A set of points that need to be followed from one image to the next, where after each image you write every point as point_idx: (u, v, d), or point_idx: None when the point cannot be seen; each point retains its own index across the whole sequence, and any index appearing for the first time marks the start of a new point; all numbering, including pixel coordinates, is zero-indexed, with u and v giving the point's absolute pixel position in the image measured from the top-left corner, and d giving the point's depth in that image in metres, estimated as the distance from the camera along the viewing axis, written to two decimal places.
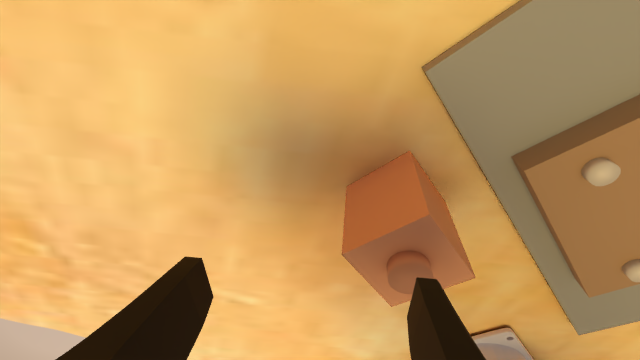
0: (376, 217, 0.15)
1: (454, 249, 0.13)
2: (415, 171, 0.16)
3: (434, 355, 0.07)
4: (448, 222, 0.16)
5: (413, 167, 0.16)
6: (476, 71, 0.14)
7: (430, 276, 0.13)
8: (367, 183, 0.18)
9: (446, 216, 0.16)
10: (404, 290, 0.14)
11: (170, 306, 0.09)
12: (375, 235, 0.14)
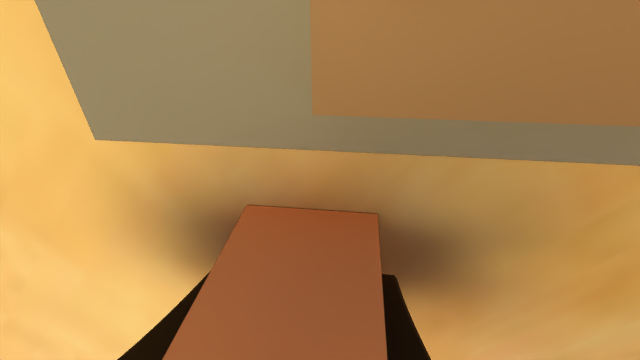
0: None
1: None
2: (220, 256, 0.09)
3: None
4: (327, 294, 0.07)
5: (225, 246, 0.09)
6: (114, 73, 0.07)
7: None
8: None
9: (331, 276, 0.08)
10: None
11: None
12: None
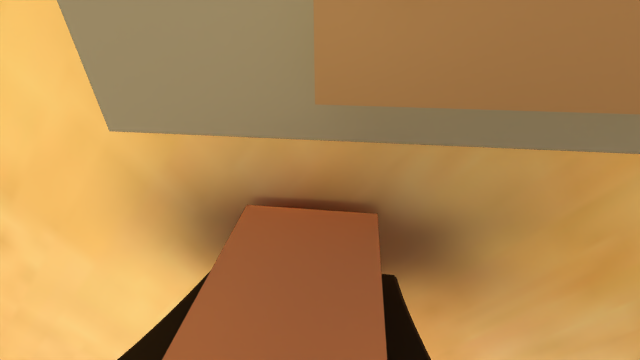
0: None
1: None
2: (220, 256, 0.09)
3: None
4: (327, 294, 0.07)
5: (225, 246, 0.09)
6: (129, 67, 0.08)
7: None
8: None
9: (331, 276, 0.08)
10: None
11: None
12: None
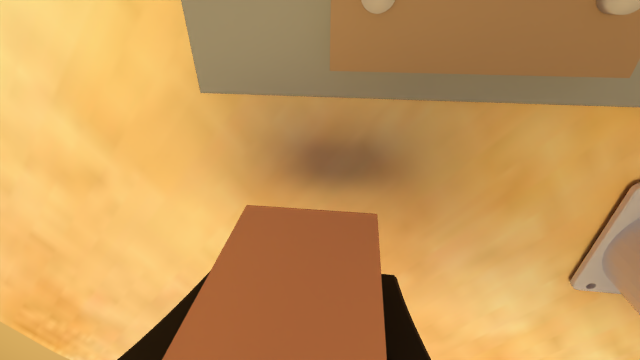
0: None
1: None
2: (220, 256, 0.09)
3: None
4: (326, 294, 0.07)
5: (225, 246, 0.09)
6: (219, 52, 0.14)
7: None
8: None
9: (331, 276, 0.08)
10: None
11: None
12: None
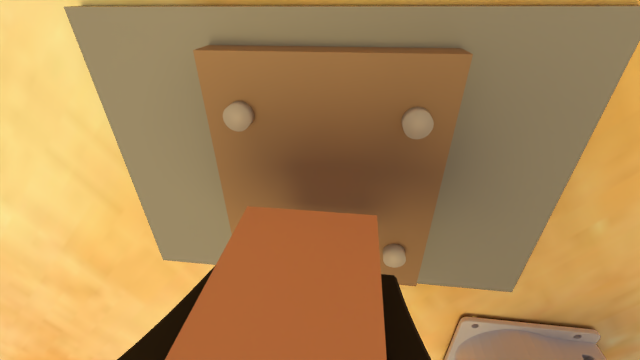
0: None
1: None
2: (221, 257, 0.09)
3: None
4: (327, 295, 0.07)
5: (226, 247, 0.09)
6: (173, 242, 0.21)
7: None
8: None
9: (331, 277, 0.08)
10: None
11: None
12: None
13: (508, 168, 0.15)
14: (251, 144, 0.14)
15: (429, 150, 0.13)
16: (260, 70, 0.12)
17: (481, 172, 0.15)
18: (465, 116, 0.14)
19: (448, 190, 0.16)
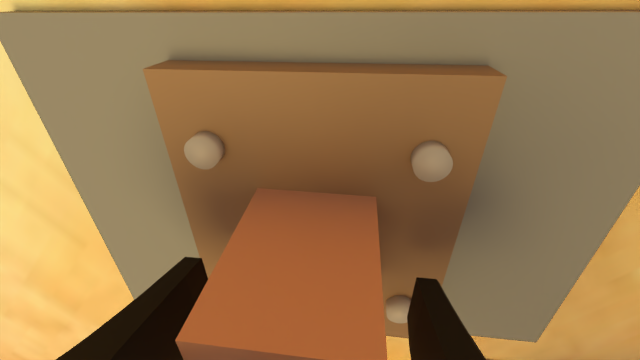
0: None
1: (284, 353, 0.06)
2: (236, 230, 0.10)
3: (434, 355, 0.07)
4: (332, 261, 0.08)
5: (240, 222, 0.10)
6: (144, 282, 0.18)
7: None
8: None
9: (335, 247, 0.09)
10: None
11: (170, 306, 0.09)
12: None
13: (540, 208, 0.12)
14: (223, 182, 0.12)
15: (445, 192, 0.11)
16: (229, 94, 0.10)
17: (506, 213, 0.13)
18: (489, 148, 0.11)
19: (465, 232, 0.13)
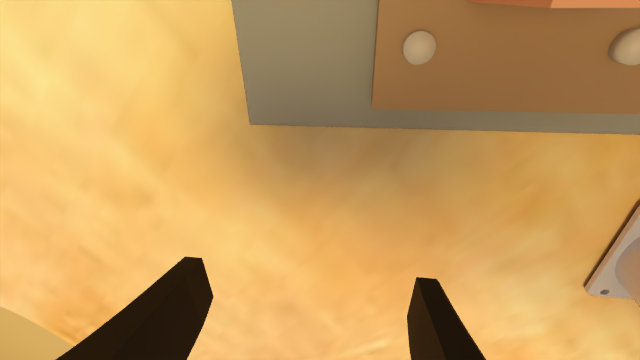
0: None
1: None
2: None
3: (434, 355, 0.07)
4: None
5: None
6: (269, 91, 0.15)
7: None
8: None
9: None
10: None
11: (170, 306, 0.09)
12: None
13: None
14: None
15: None
16: None
17: None
18: None
19: None
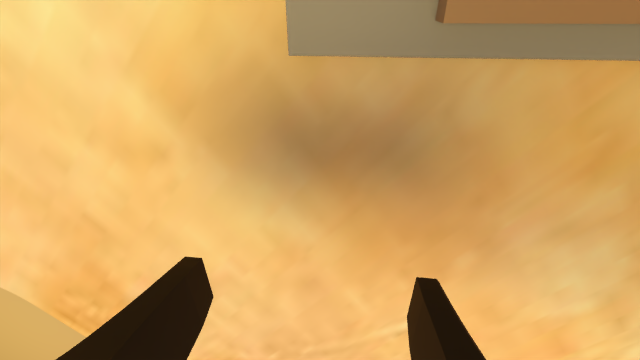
0: None
1: None
2: None
3: (434, 355, 0.07)
4: None
5: None
6: (315, 11, 0.13)
7: None
8: None
9: None
10: None
11: (170, 306, 0.09)
12: None
13: None
14: None
15: None
16: None
17: None
18: None
19: None
